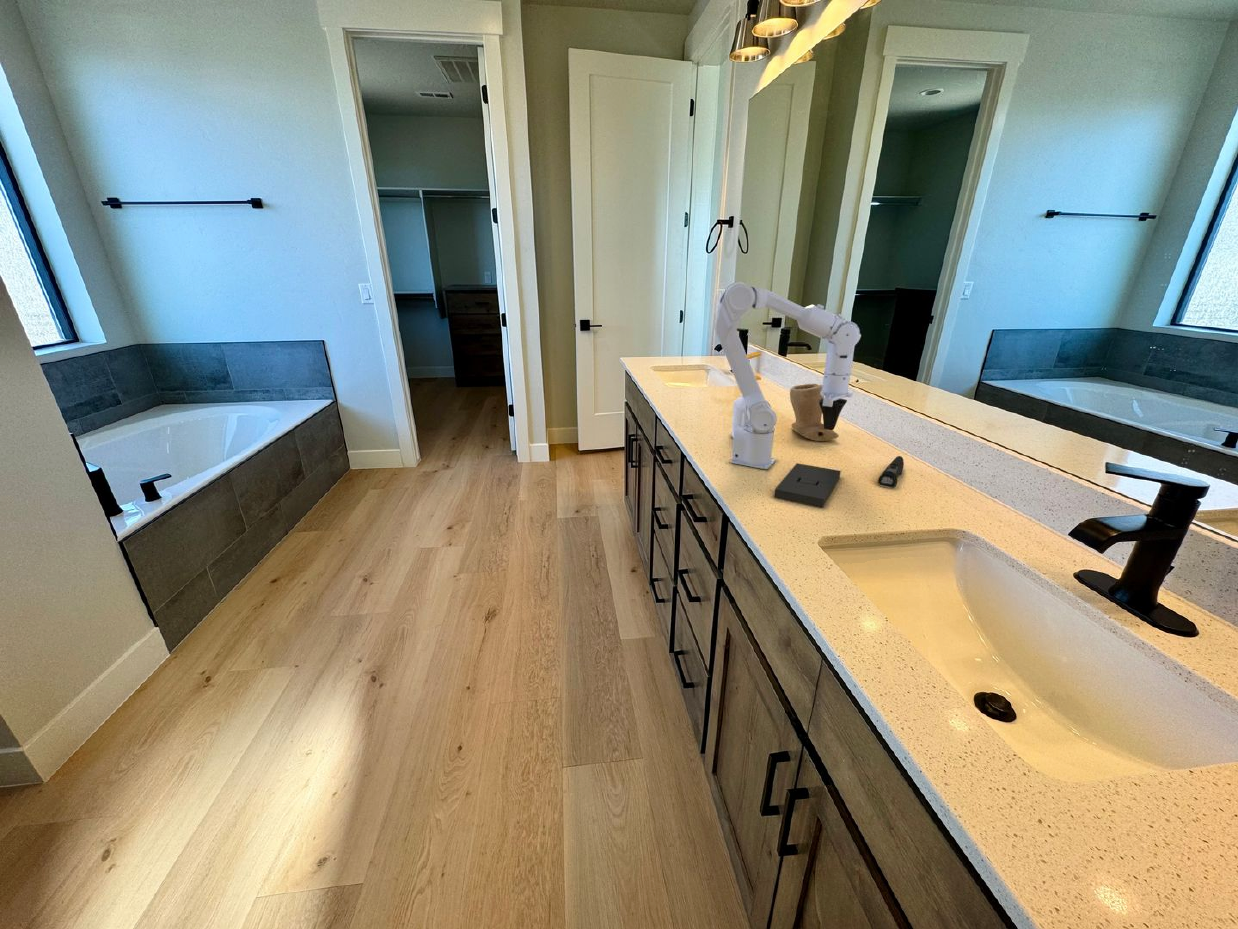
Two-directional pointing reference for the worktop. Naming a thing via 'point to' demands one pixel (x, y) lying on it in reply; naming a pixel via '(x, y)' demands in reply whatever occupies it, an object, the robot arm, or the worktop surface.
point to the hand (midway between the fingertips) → (829, 428)
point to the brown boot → (809, 412)
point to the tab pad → (815, 474)
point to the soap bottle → (741, 405)
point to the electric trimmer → (891, 473)
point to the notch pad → (803, 492)
